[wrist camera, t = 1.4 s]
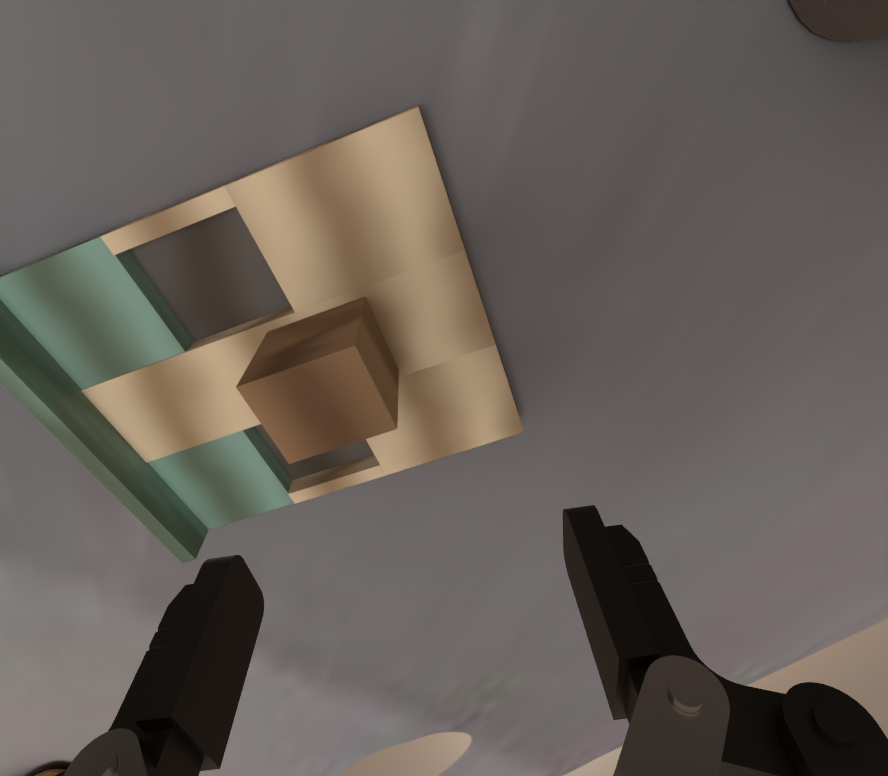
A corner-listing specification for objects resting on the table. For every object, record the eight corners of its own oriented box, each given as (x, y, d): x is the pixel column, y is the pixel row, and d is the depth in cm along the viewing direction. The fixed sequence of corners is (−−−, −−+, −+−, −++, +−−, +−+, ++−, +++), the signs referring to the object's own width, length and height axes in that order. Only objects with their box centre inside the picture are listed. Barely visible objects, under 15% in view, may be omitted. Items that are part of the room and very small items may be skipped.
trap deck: (417, 105, 24) (419, 109, 20) (518, 414, 34) (532, 456, 30) (-4, 277, 27) (-72, 309, 23) (205, 514, 37) (182, 563, 33)
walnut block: (364, 296, 27) (355, 345, 22) (398, 369, 29) (397, 428, 24) (267, 331, 28) (235, 387, 22) (308, 400, 30) (289, 464, 25)
